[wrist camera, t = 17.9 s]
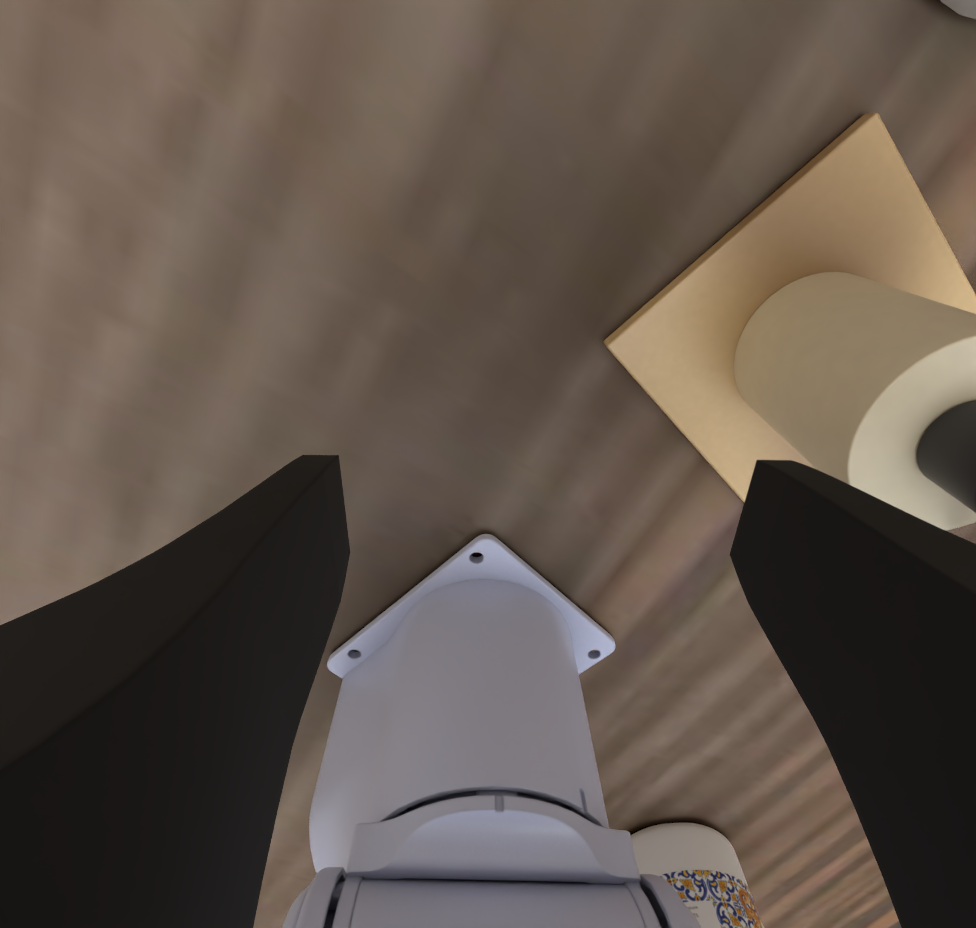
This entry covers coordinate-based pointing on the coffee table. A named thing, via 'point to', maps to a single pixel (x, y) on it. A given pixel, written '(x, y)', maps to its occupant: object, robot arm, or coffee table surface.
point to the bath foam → (698, 872)
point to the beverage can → (962, 7)
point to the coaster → (771, 266)
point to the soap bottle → (870, 389)
